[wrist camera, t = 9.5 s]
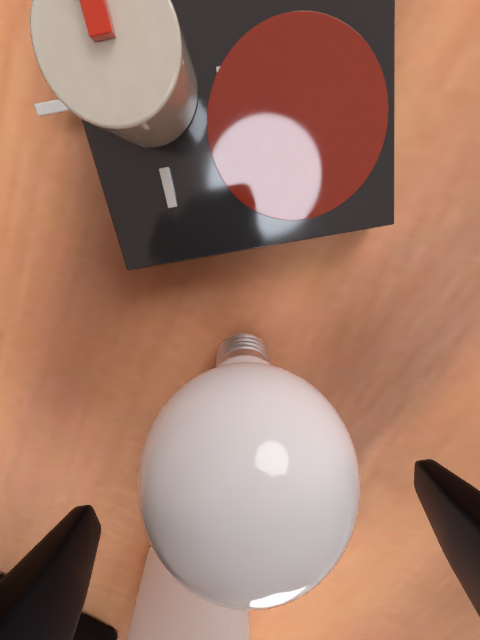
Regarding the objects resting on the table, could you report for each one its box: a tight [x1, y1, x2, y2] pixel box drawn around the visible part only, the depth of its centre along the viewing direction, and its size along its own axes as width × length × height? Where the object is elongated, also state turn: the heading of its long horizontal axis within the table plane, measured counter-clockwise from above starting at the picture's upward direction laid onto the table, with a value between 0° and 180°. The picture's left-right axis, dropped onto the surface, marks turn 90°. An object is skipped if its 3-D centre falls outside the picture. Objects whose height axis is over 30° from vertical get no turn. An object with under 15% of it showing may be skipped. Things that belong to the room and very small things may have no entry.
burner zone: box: [207, 11, 388, 221], centre depth 11 cm, size 6×6×1 cm
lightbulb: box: [137, 333, 360, 611], centre depth 12 cm, size 6×6×11 cm
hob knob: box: [30, 0, 198, 147], centre depth 9 cm, size 4×4×4 cm
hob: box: [34, 0, 395, 270], centre depth 12 cm, size 10×12×2 cm
